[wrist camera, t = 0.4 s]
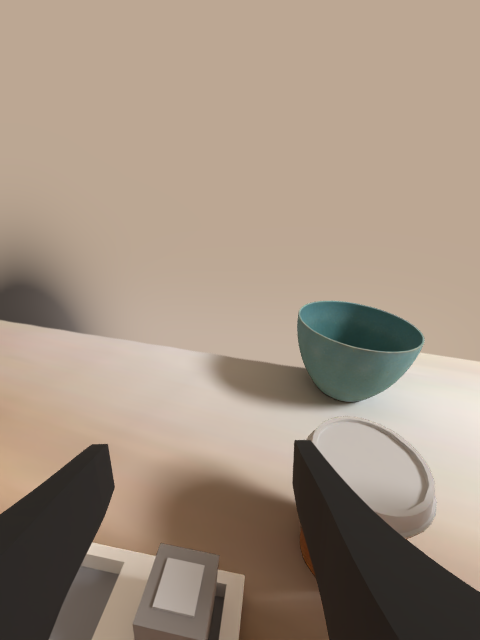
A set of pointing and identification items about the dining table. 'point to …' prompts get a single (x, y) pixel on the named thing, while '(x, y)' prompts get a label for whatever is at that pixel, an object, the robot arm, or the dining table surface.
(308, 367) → the teal bowl
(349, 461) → the disposable coffee cup
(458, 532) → the dining table surface
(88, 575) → the strip
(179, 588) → the twin plug
